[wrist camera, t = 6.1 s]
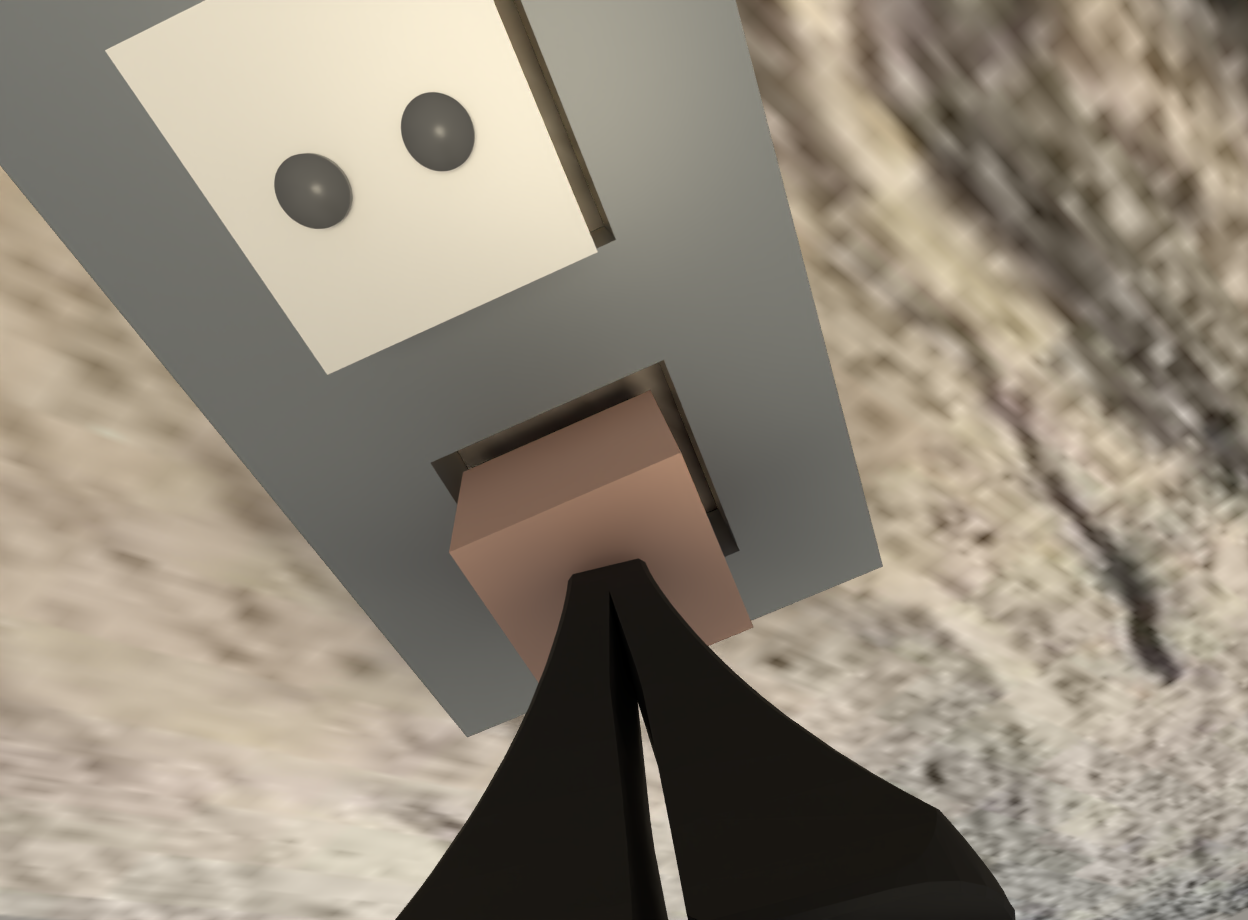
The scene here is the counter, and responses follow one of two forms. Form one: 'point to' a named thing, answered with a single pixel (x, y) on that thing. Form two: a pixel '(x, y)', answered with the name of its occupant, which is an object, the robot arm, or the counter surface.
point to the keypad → (479, 319)
